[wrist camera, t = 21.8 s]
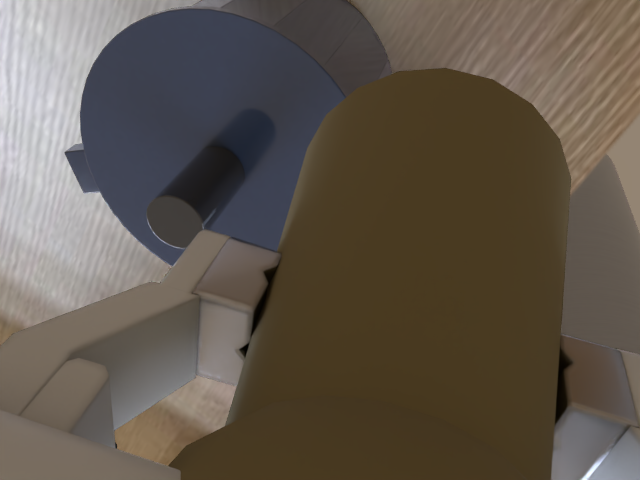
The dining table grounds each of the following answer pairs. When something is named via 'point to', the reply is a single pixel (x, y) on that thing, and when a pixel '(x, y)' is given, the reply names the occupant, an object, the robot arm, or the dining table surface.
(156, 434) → the dining table surface
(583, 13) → the dining table surface
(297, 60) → the pot lid
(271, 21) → the pot
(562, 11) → the dining table surface
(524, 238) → the olive brown tapered piece
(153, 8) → the dining table surface
